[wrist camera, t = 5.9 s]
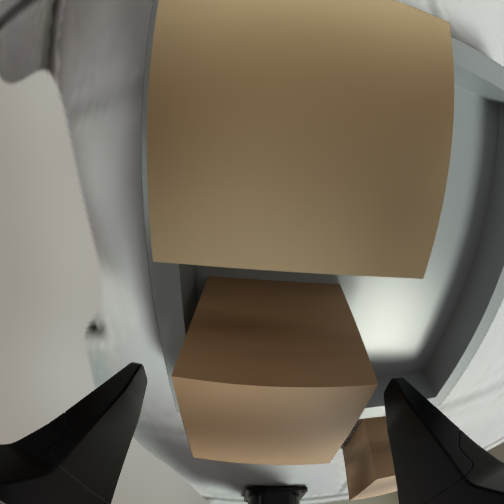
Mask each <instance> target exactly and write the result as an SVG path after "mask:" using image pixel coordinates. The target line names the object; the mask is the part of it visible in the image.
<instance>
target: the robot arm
mask: <svg viewBox="0 0 504 504" xmlns="http://www.w3.org/2000/svg"><path fill="white" fill-rule="evenodd" d="M146 386H147V377H146V374H145V370H144V367H143V365H142V364H139V363H134V362H132V363H130V364H128V365H127V366H126V367H125V368H123V369H122V370H121V371H119V372H118V373H117V374H115V375H114V376H113V377H111V378H110V379H109V380H107V381H106V382H105V383H103V384H102V385H101V386H99V387H98V388H97V389H95V390H94V391H93V392H91V393H90V394H89V395H87V396H86V397H85V398H83V399H82V400H80V401H79V402H78V403H76V404H75V405H74V406H72V407H71V408H70V409H68V410H67V411H66V412H65V413H63V414H61V415H60V416H59V417H57V418H56V419H54V420H53V421H51V422H50V423H49V424H47V425H45V426H44V427H42V428H40V429H39V430H37V431H35V432H33V433H31V434H29V435H28V436H26V437H24V438H22V439H21V440H18V441H16V442H14V443H11V444H5V445H0V504H111V501H112V498H113V495H114V491H115V488H116V485H117V482H118V479H119V476H120V472H121V469H122V466H123V463H124V460H125V457H126V454H127V451H128V448H129V445H130V442H131V440H132V437H133V434H134V431H135V428H136V425H137V423H138V419H139V416H140V412H141V407H142V403H143V399H144V394H145V390H146ZM384 405H385V414H386V425H387V432H388V438H389V443H390V448H391V453H392V459H393V465H394V471H395V477H396V484H397V491H398V498H399V504H504V463H503V462H501V461H499V460H498V459H496V458H495V457H494V456H492V455H491V454H490V453H488V452H487V451H486V450H484V449H483V448H481V447H480V446H479V445H478V444H476V443H475V442H474V441H473V440H471V439H470V438H469V437H468V436H467V435H466V434H465V433H464V432H462V431H461V430H460V429H459V428H458V427H457V426H456V425H455V424H454V423H453V422H452V421H450V420H449V419H448V418H447V417H446V416H445V415H444V414H443V413H442V412H441V411H439V410H438V409H437V408H436V407H435V406H434V405H433V404H432V403H431V402H430V401H429V400H427V399H426V398H425V397H424V396H423V395H422V394H421V393H420V392H419V391H418V390H416V389H415V388H414V387H413V386H412V385H411V384H410V383H409V382H408V381H407V380H405V379H404V378H403V377H393V378H392V379H391V380H390V382H389V384H388V386H387V387H386V389H385V391H384ZM306 492H307V487H287V488H274V487H246V489H245V497H244V502H248V504H300V501H299V500H300V499H301V498H302V497H303V496H304V494H305V493H306Z"/></svg>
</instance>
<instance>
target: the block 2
mask: <svg viewBox="0 0 504 504" xmlns="http://www.w3.org/2000/svg"><path fill="white" fill-rule="evenodd" d="M171 377H172V381H173V386H174V390H175V394H176V398H177V402H178V406H179V410H180V413H181V417H182V421H183V424H184V428H185V431H186V435H187V438H188V442H189V445H190V448H191V451H192V454H193V457H195V458H201V459H208V460H215V461H224V462H234V463H246V464H265V465H304V464H323V463H330V461H331V460H332V458H333V457H334V456H335V454H336V453H337V451H338V450H339V449H340V447H341V446H342V444H343V443H344V441H345V440H346V438H347V437H348V435H349V434H350V432H351V430H352V429H353V427H354V426H355V424H356V422H357V421H358V419H359V418H360V416H361V414H362V413H363V411H364V409H365V407H366V406H367V404H368V402H369V400H370V399H371V397H372V395H373V393H374V391H375V389H376V388H377V386H378V382H377V379H376V376H375V373H374V371H373V368H372V365H371V362H370V359H369V356H368V354H367V351H366V348H365V346H364V343H363V340H362V338H361V335H360V332H359V330H358V327H357V325H356V322H355V319H354V317H353V314H352V312H351V309H350V307H349V304H348V302H347V300H346V297H345V295H344V292H343V290H342V287H341V285H340V284H328V283H308V282H290V281H274V280H258V279H244V278H230V277H216V276H209V277H208V279H207V282H206V284H205V287H204V289H203V292H202V294H201V297H200V300H199V302H198V305H197V308H196V310H195V313H194V315H193V318H192V321H191V323H190V326H189V329H188V331H187V334H186V337H185V339H184V342H183V345H182V348H181V350H180V353H179V356H178V359H177V361H176V364H175V367H174V370H173V373H172V375H171Z"/></svg>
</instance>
